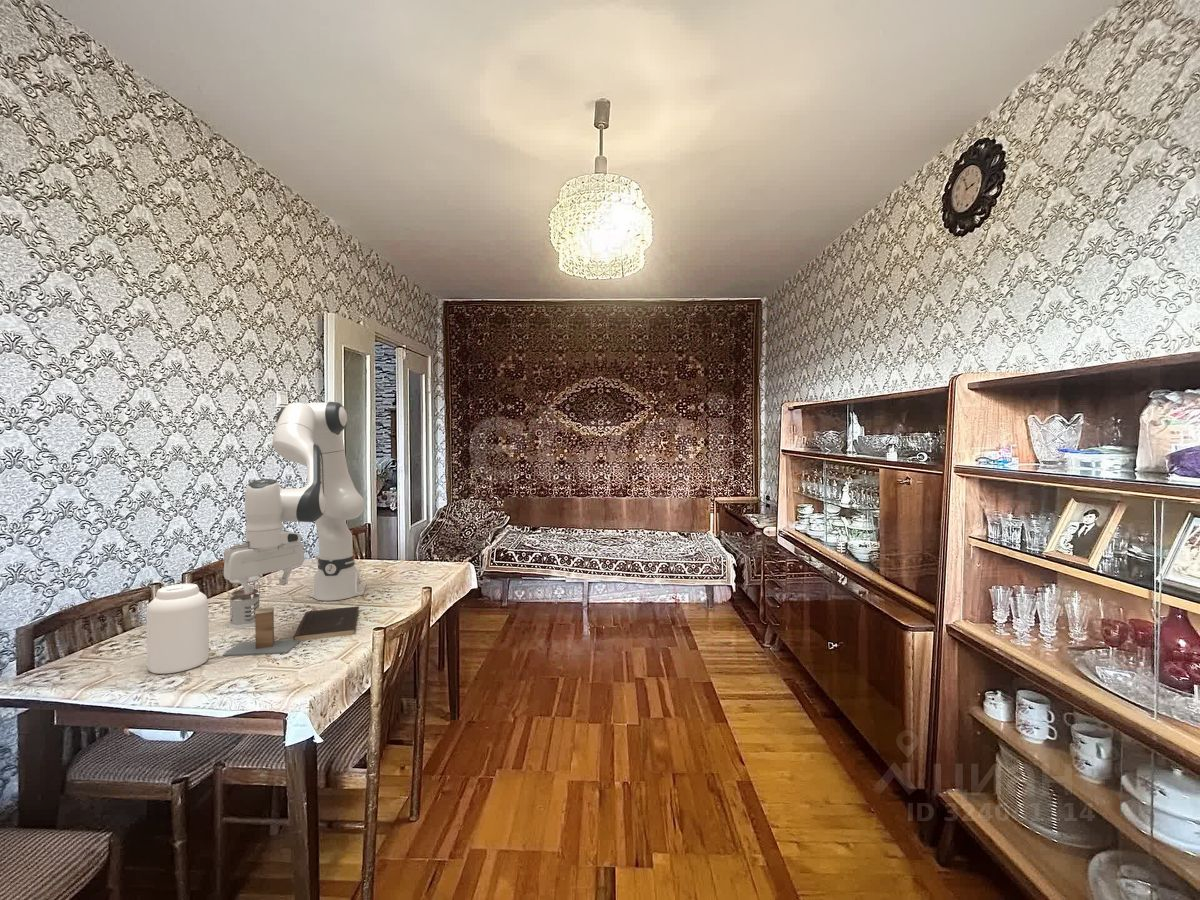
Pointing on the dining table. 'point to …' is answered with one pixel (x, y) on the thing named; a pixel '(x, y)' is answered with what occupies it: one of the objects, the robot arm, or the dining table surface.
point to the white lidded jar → (177, 629)
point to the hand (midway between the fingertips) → (266, 588)
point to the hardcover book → (327, 623)
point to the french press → (244, 606)
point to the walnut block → (264, 627)
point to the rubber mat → (250, 648)
